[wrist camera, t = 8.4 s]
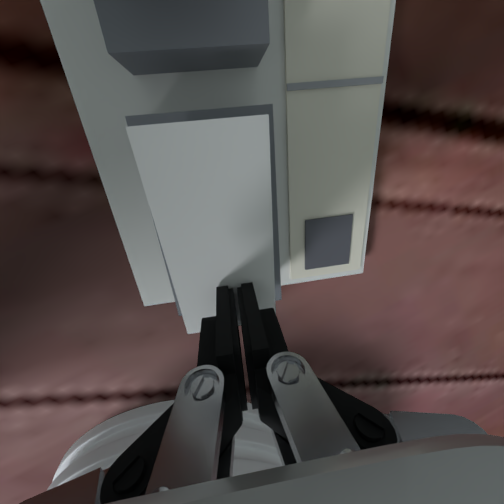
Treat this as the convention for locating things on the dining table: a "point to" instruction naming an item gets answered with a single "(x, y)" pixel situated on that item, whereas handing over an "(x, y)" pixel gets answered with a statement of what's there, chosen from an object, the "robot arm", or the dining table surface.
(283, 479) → the robot arm
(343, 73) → the panel
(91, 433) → the plate stack
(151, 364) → the dining table surface
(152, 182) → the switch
